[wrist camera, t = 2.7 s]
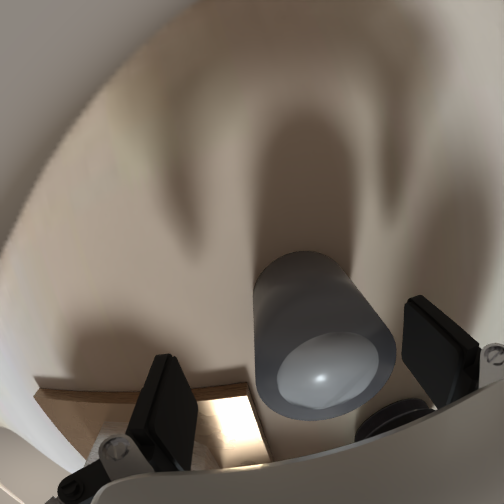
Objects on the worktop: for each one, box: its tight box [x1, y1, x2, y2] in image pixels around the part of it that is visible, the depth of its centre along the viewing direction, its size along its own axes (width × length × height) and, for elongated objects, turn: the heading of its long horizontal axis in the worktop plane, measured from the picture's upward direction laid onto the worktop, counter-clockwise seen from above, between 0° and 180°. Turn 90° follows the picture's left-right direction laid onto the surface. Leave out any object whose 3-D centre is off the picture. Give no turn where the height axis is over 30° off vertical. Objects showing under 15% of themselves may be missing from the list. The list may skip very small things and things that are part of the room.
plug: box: [253, 251, 396, 421], centre depth 12 cm, size 5×5×6 cm
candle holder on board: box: [33, 382, 274, 471], centre depth 15 cm, size 18×14×7 cm
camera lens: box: [355, 399, 435, 442], centre depth 11 cm, size 8×8×15 cm
